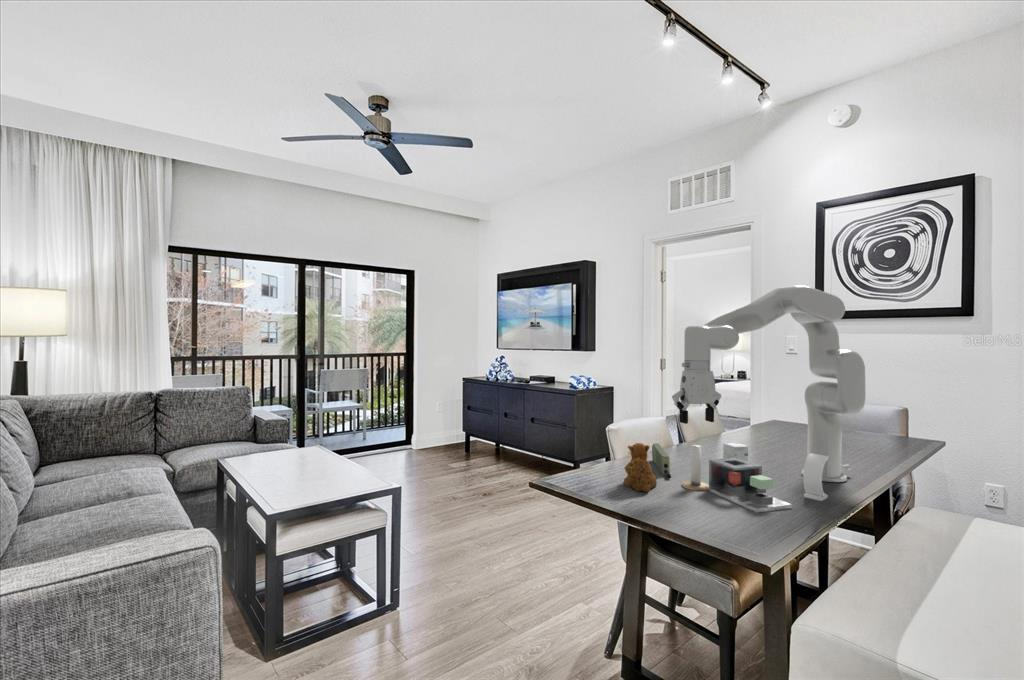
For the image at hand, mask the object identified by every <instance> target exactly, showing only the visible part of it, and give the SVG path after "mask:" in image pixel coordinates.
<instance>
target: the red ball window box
mask: <svg viewBox="0 0 1024 680" xmlns="http://www.w3.org/2000/svg"><path fill="white" fill-rule="evenodd" d="M708 463H709V464H708V465H709V467H708V485H709V486H705V488H707V490H706V491H708V492H710V493H712V494H714V495H716V496H719V497H721V498H724V499H725V500H728V501H730V502H732V503H734V504H736V505H739V506H741V507H743V508H745V509H747V510H749V511H752V512H754V513H756V514H757V513H764V512H765V513H766V512H771V511H773V512H774V511H779V510H787V509H792V508H793V504H791V503H789V502H787V501H785V500H784V501H783V500H781V499H779V498H777V497H773V496H771V495H769V494H766V493H759V492H757V488H756V487H753V486H751V485H750V476H758V475H762V473H763V466H762V465H760V464H757V463H754V462H752V461H749V460H748V461H746V460H743V459H739V458H724V459H723V458H715V459H712V458H711V459H709V460H708ZM729 471H737V472H740V473H741V484H738V486H733V485H732V484H731V483H729V482H728V479H729Z"/></svg>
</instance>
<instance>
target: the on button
mask: <svg viewBox="0 0 1024 680" xmlns="http://www.w3.org/2000/svg"><path fill="white" fill-rule="evenodd" d="M750 485H751V486H753V487H756V488H757V492H759V493H764V494H766V493H767V490H769V489H774V478H771V477H768V476H765V475H758V476H750Z"/></svg>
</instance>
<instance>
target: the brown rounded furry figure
mask: <svg viewBox="0 0 1024 680" xmlns="http://www.w3.org/2000/svg"><path fill="white" fill-rule="evenodd" d="M650 448H651V446H650V445H649V444H647V445H645V444H644V443H641V442H638V443H637V442H635V444H632V445H627V449H628V450H629V451H628V452H627V454H629V455H630V456H631V457H630V458H631V459H630V461H629V462H628V464H626V465H625V467H624V470H625V473H626V474H627V476H626V477H624V478H623V483H624V484H625V486H627V487H630V488H632V489H634V490H635V491H636V492H642V493H648V492H650V491H651V489H653V488H656V487H657V485H658V484H657V483H658V481H657V477H656V475H655V474H654V473H653V472H652V470H653V468H652V466H651V464H650V463H649V461H648V451H649V450H650Z"/></svg>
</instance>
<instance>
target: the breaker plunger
mask: <svg viewBox="0 0 1024 680" xmlns="http://www.w3.org/2000/svg"><path fill="white" fill-rule="evenodd" d="M728 482H729V483H731V484H732V485H733V486H738V484H741V473H740V472H737V471H729V479H728Z"/></svg>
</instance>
